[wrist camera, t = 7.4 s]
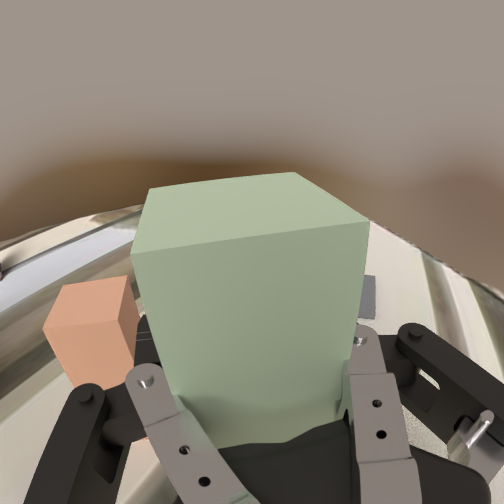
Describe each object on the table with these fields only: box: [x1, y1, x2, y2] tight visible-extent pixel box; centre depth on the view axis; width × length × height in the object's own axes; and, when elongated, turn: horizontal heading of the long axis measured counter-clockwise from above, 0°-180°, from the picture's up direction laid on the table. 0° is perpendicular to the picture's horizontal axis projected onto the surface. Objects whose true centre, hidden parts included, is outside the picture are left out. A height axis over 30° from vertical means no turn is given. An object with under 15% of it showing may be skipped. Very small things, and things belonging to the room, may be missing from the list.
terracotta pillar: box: [42, 275, 148, 439], centre depth 21 cm, size 5×5×12 cm
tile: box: [358, 275, 375, 319], centre depth 37 cm, size 8×8×1 cm
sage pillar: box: [130, 172, 370, 451], centre depth 11 cm, size 5×5×12 cm
